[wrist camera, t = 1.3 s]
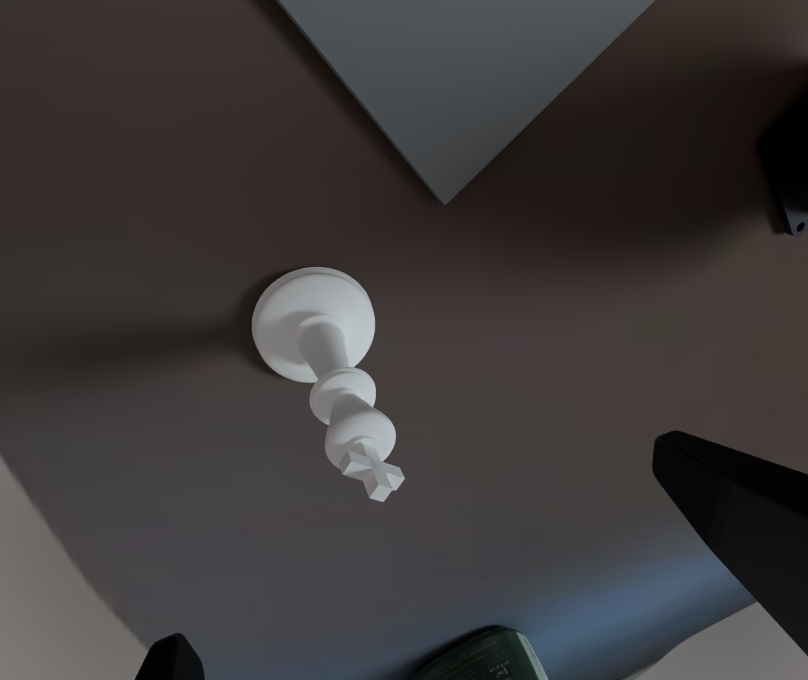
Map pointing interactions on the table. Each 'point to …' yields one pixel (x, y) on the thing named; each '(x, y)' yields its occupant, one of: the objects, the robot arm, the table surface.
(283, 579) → the table surface
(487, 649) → the coffee jar
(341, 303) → the chess piece
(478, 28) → the slate mat
